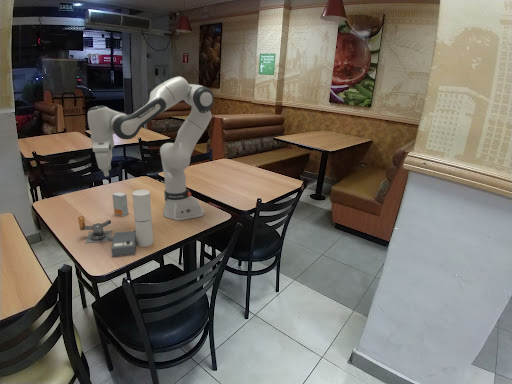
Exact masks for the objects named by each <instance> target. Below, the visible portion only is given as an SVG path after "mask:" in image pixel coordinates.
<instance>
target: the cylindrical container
mask: <svg viewBox="0 0 512 384" xmlns="http://www.w3.org/2000/svg"><path fill="white" fill-rule="evenodd" d="M132 205H133V217H134V225H135V231H136V246H138V247H141V248H145V247H149V246H152V245H153V243H154V235H153V233H154V231H153V219H152V217H153V216H152V206H151V205H152V204H151V191H150V190H147V189H136V190H133V192H132Z"/></svg>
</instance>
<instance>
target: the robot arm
mask: <svg viewBox="0 0 512 384" xmlns="http://www.w3.org/2000/svg"><path fill="white" fill-rule="evenodd" d="M214 97H215V95H214V93H213V91H212V90H211V89H209V87H206V86H203V85H200V84H194V83H189V82H188V81H187V79H186V78H184V77H182V76H175V77H172V78H169V79H167V80H165V81H164V82H162V83H160V84H158V85H157V86H156V87H155V88H153V89H152V90H151V91H150V93H149V99H148V102H147V103H146V104H145V105H144V106H142V107H140V108H139V109H137V110H136V111H134V112H133V113H131V114H126V113H124V112H120V111H117V110H114V109H111V108H109V107H107V106H105V105H96V106H93V107H90V108H89V109H88V111H87V123H88V128H89V129H88V130H89V131H90V140H91V145H92V152H93V153H94V154H95V155H94V156H95V159H96V164H97V166H98V169H99V170H102V172H103V175H104V177H109V176H110V173H109V171H111V169H112V165H111V163H112V159H113V152H112V150H113V148H114V147H115V142H114V141H115V140H114V135H115V136H117V137H118V139H122V140H131V139H134V138H135V137H136V136H137V135H138V133H140V130H141V129H142V128H143V127H144V126H145V125H147V124H148V123H150V122H151V120H153V119H154V118H156V117H157V116H158V115H160V114H161V113H164V112H165V111H167V110H169V109H170V108H172V107H174V106H175V105H177V104H178V103H179V102H181V101H183V102H184V103H185V104H186V105H189V106H191V109H190V113H189V115H188V116H187V117H186V118H185V120H184V122H183V123H182V124H181V126H180V128H179V129H178V130H177V135H176V137H175V140H174V142H166V143H163V144H161V146H160V148H159V154H160V159H161V160H160V161H161V165H162V171H163V175H164V176H163V177H164V193H163V194H164V208H163V217H166V218H168V219H170V220H171V219H172V220H173V221H176V222H177V221H184V220H188V219H189V220H190V219H195V218H201V217H203V216H204V215H205V210H204V208H203V207H202V206H201V204H200V202H199V201H198V199H196V198H195V197H193V196H192V193H191V191H190V190H189V188H187V181H186V180H187V178H186V174H185V169H187V168H188V167H189V166H190V163H191V157H192V154H193V152H194V149H195V147H196V145H197V143H198V141H199V140H200V138H201V137H202V135H203V134H204V132H205V131H206V129H207V127H208V126H209V123H210V122H211V119H212V117H213V115H212V112H211V109H212V107H213V104H214V102H215V101H214V99H215V98H214Z"/></svg>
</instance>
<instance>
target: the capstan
mask: <svg viewBox="0 0 512 384" xmlns="http://www.w3.org/2000/svg"><path fill="white" fill-rule="evenodd" d="M77 220H78V225H79V230H80V231H92V232H93V233H92V234H91V235H90V238H91V239H92V240H101V239H103V238H105V237H106V233H105V232H104V231H105V230H104V228H105V227H107V226H109V225H111V224H112V221H111V220H110V219H108V220H106V221H103V222H102V223H100V222H99V223H94V224H92V225H86V222H85V220H86V219H85V216H78V218H77Z"/></svg>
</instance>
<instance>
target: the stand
mask: <svg viewBox="0 0 512 384" xmlns="http://www.w3.org/2000/svg"><path fill="white" fill-rule="evenodd" d="M103 231H104V232H105V233H106V237H105V238H103V239H101V240H92V239H91V238H90V235H91V234H92V233H93V231H92V232H91V231H89V232H88V234H87V236H86V239H85V241H84V244H93V243H105V242H110V241H111V242H112V245H111V249H110V251H111V255H112V258H114V257H116V258H117V257H122V256H132V255H136V247H137V239H136V230H132V231H131V230H129V231H120V232H114V234H113V235H112V230H103Z"/></svg>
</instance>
